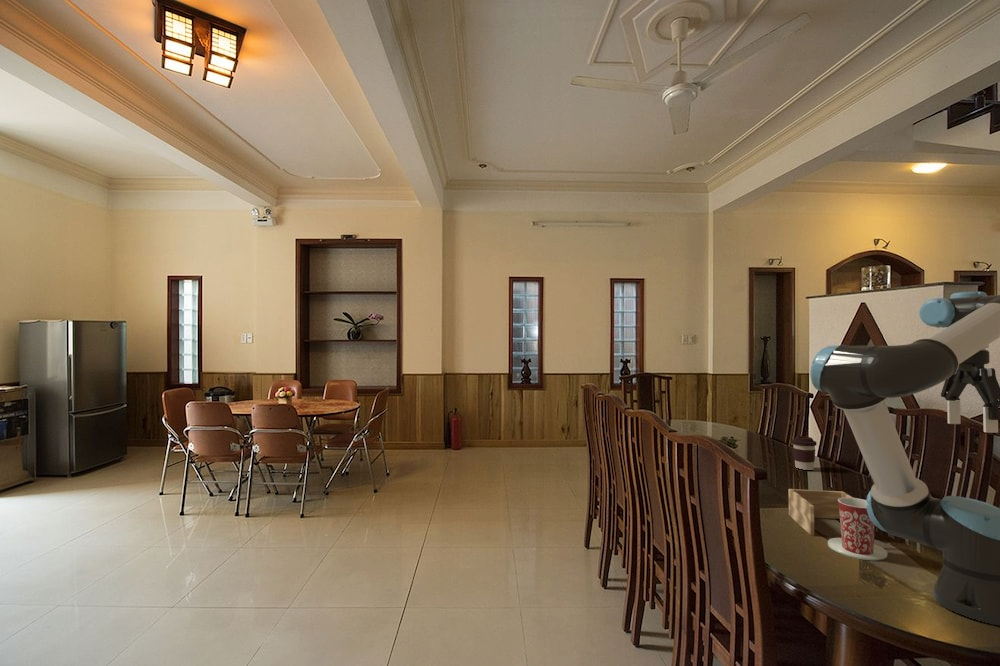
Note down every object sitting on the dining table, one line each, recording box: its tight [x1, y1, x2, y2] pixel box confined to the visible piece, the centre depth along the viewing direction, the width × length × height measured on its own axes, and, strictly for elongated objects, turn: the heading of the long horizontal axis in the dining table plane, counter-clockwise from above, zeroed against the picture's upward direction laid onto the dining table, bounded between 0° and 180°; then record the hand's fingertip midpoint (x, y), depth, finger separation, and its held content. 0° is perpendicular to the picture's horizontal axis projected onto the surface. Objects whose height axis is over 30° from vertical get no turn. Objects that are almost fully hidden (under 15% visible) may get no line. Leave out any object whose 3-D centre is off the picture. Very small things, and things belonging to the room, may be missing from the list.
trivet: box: [827, 537, 888, 562], centre depth 144 cm, size 14×14×1 cm
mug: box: [838, 497, 876, 555], centre depth 144 cm, size 13×9×14 cm
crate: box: [788, 488, 854, 536], centre depth 162 cm, size 18×17×9 cm
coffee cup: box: [791, 435, 817, 471], centre depth 234 cm, size 10×10×15 cm
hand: (971, 428), depth 134 cm, fingers open, 13 cm apart
